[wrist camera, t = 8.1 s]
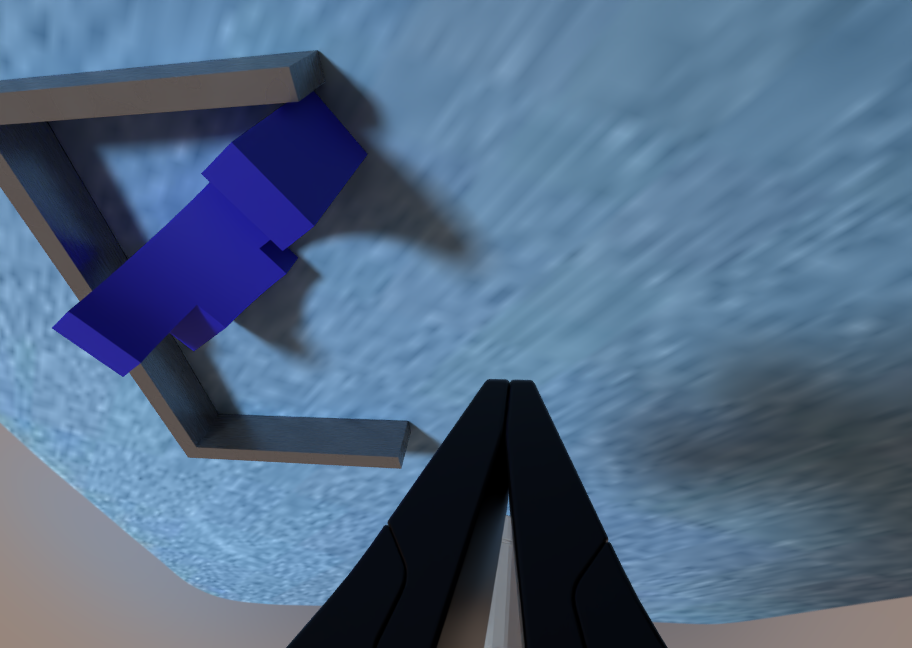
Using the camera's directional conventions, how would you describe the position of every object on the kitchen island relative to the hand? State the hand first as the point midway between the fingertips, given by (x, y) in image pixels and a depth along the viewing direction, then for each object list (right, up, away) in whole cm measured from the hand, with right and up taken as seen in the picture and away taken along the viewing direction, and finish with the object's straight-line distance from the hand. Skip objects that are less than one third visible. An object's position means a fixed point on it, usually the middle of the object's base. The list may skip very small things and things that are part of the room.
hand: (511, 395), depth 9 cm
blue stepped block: (-9, +6, +13) cm, 17 cm away
